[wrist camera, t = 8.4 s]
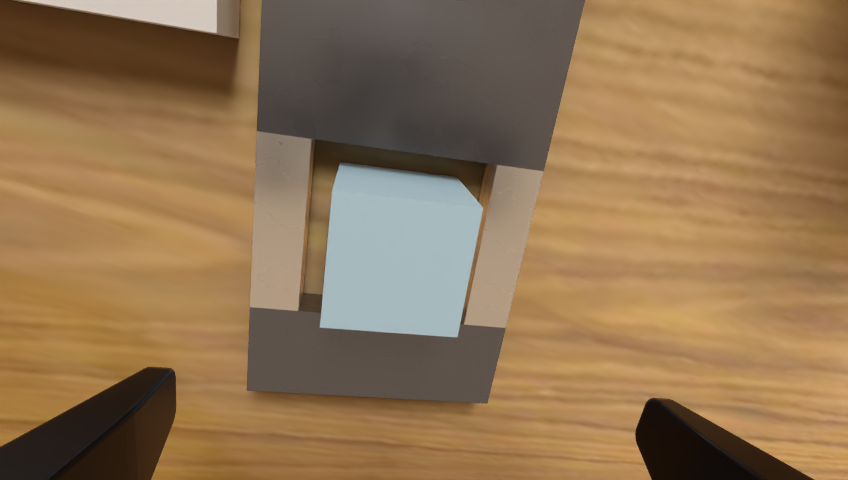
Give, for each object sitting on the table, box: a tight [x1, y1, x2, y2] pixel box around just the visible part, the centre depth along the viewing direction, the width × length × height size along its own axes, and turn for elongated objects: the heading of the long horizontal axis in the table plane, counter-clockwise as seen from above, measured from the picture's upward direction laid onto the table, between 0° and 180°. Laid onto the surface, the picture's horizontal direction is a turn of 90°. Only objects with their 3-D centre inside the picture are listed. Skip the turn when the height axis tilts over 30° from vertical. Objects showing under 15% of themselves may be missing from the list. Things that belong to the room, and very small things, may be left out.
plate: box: [247, 0, 585, 403], centre depth 17 cm, size 10×20×2 cm, turn 171°
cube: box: [320, 162, 483, 337], centre depth 17 cm, size 4×4×4 cm
